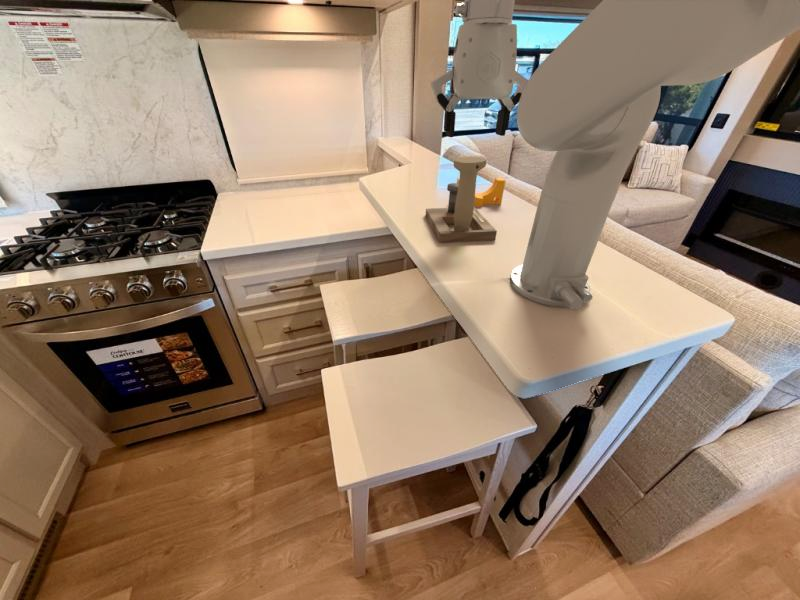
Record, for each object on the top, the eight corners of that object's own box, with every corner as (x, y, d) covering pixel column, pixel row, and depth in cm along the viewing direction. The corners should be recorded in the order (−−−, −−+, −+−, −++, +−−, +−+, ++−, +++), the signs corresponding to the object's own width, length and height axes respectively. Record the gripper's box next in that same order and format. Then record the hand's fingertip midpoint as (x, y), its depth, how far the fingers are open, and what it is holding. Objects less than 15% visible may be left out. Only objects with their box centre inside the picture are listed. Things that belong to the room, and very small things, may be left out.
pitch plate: (495, 240, 69) (502, 202, 64) (439, 242, 67) (442, 204, 63) (473, 214, 81) (477, 181, 76) (425, 216, 80) (427, 183, 75)
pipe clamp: (457, 207, 86) (460, 182, 82) (454, 202, 89) (457, 178, 86) (502, 207, 86) (507, 182, 83) (498, 202, 90) (502, 177, 86)
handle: (443, 230, 73) (449, 158, 64) (466, 225, 75) (475, 155, 66) (455, 238, 69) (464, 164, 60) (479, 233, 71) (491, 160, 63)
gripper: (439, 8, 47) (433, 139, 57) (552, 10, 49) (528, 137, 59) (429, 17, 53) (425, 134, 63) (529, 19, 55) (511, 132, 65)
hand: (475, 135), depth 61 cm, fingers open, 9 cm apart
